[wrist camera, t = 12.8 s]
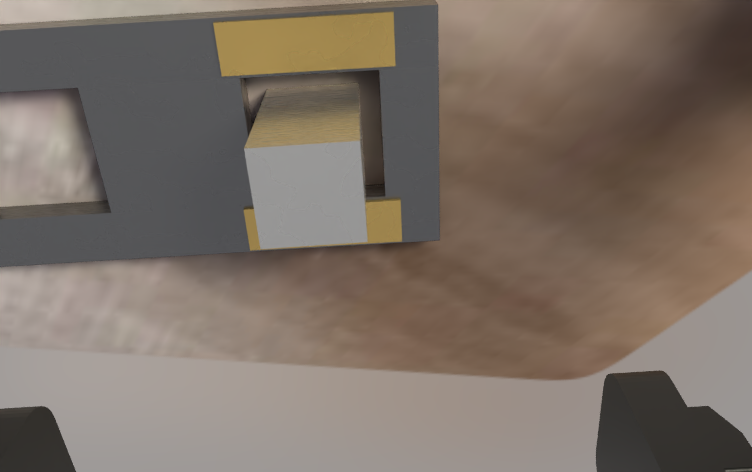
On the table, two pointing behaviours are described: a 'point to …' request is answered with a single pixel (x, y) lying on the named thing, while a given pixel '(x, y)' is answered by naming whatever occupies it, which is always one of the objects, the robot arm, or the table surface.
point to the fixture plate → (216, 123)
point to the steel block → (308, 167)
